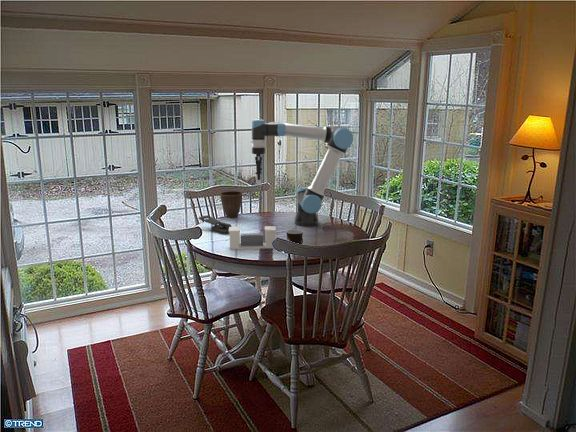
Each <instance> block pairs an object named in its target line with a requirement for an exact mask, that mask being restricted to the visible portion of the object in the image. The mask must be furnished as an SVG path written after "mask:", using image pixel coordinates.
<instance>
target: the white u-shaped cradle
mask: <svg viewBox="0 0 576 432" xmlns="http://www.w3.org/2000/svg"><path fill="white" fill-rule="evenodd" d="M240 231H241V226H232V227H229V233H230V234H229V249H230V250H241V249H242V250H249V249H253V250H254V249H256V250H257V249H259V250H260V249H274V248H273V247H272V242H273V240H274V239H275V240H276V233H277V229H276V225H275V226H274V225H273V226H271V225H269V226H268V225H264V232H265V237H264V238H265V242H263V246H241V232H240Z"/></svg>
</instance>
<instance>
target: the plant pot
mask: <svg viewBox="0 0 576 432" xmlns="http://www.w3.org/2000/svg"><path fill="white" fill-rule="evenodd" d="M243 194H244V193H243V192H242V191H238V190H237V191H231V190H230V191H224V192H223V191H222V192H220V193H219V196H220V197H219V198H220V202H221V206H222V208H223V212H224V214H225V216H226V218H227V217H228V219H234V218H235V217H236V218H238V217H239V214H240V210H241V207H242V202H243Z"/></svg>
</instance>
